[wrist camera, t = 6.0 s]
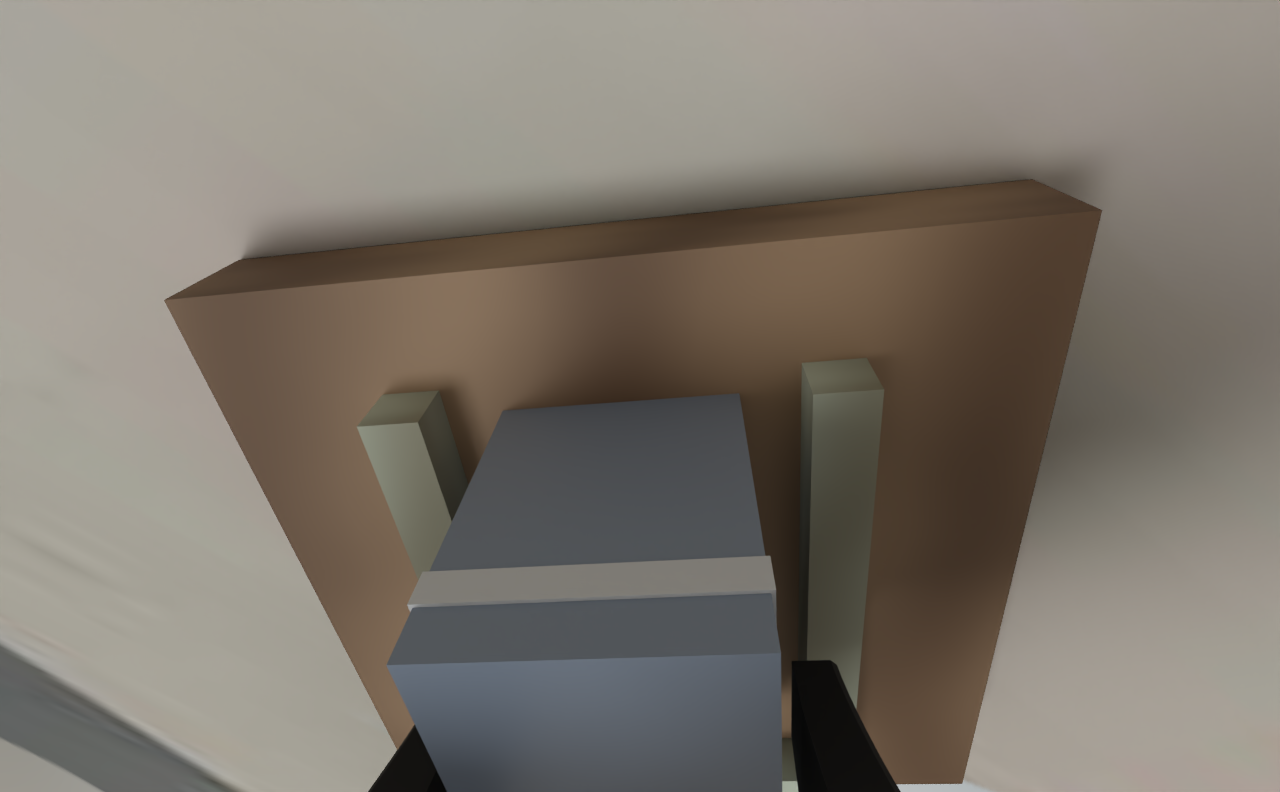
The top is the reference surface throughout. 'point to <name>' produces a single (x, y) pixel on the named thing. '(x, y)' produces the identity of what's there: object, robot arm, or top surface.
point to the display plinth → (688, 367)
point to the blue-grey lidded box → (601, 609)
